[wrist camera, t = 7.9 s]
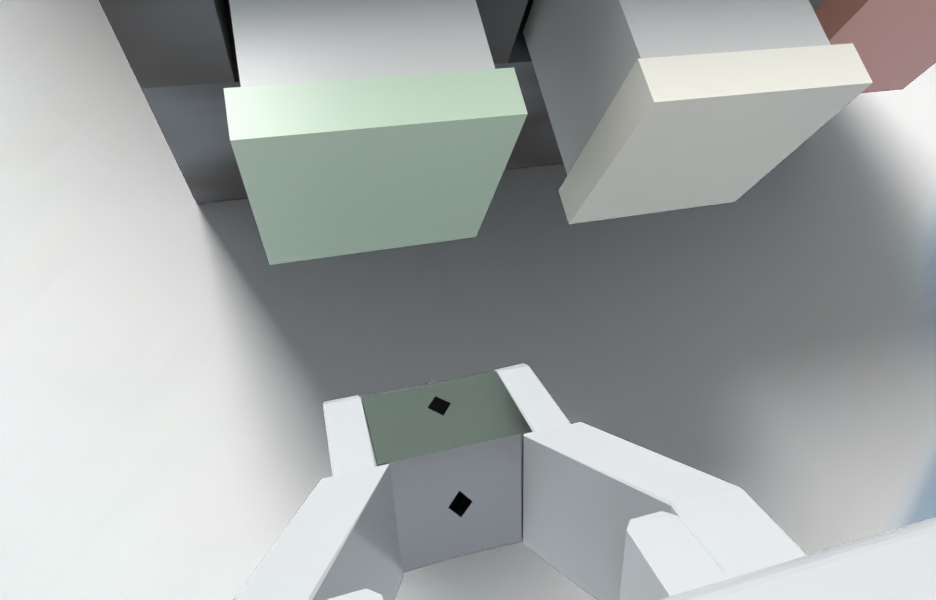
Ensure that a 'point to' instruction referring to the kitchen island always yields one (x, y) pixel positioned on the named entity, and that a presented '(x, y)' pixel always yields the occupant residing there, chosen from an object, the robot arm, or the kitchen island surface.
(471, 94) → the sage button
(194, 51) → the console
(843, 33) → the coral button
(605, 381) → the kitchen island surface
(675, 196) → the cream button
